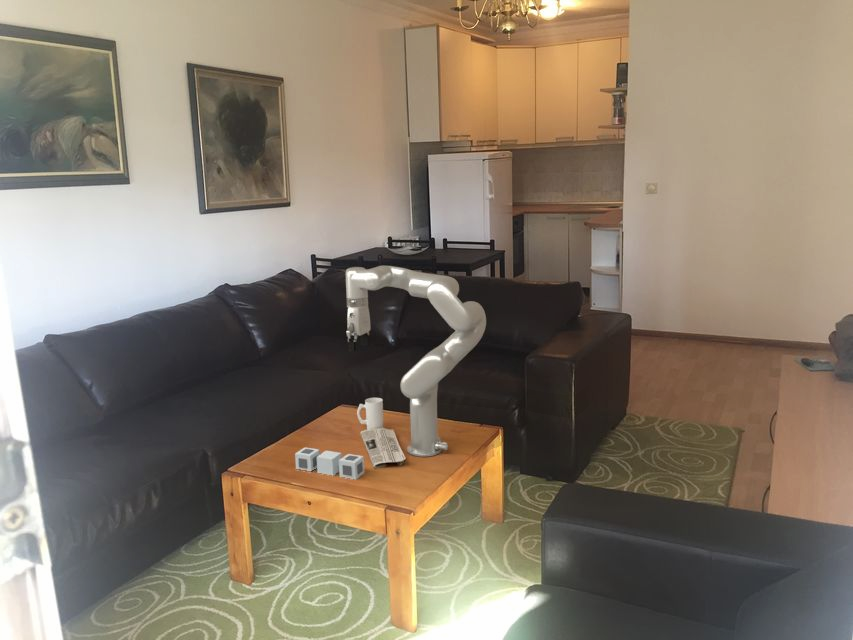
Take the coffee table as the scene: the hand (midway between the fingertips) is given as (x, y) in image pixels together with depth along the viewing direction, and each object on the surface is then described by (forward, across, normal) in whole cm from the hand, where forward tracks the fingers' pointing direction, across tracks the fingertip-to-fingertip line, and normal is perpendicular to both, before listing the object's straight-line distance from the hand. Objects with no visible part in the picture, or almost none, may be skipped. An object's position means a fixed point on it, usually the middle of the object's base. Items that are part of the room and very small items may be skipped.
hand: (359, 349), depth 264 cm
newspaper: (+37, -3, -10) cm, 38 cm away
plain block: (+36, -26, 0) cm, 45 cm away
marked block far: (+36, -26, +8) cm, 45 cm away
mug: (+36, +14, +3) cm, 39 cm away
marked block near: (+36, -27, -8) cm, 46 cm away
